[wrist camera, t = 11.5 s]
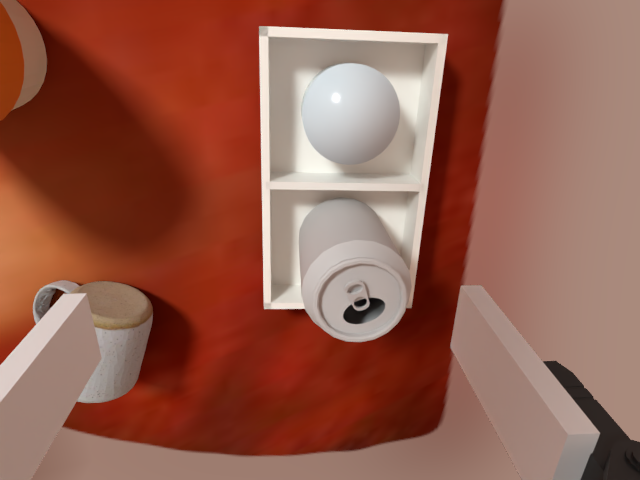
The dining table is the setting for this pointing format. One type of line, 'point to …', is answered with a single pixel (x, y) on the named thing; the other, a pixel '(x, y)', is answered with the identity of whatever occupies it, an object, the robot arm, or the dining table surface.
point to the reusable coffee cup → (19, 57)
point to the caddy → (333, 178)
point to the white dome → (350, 113)
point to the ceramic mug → (109, 333)
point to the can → (351, 271)
